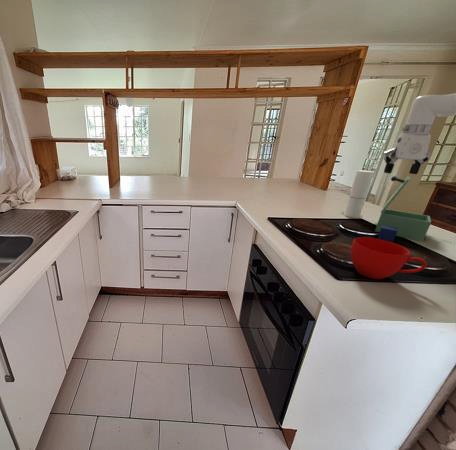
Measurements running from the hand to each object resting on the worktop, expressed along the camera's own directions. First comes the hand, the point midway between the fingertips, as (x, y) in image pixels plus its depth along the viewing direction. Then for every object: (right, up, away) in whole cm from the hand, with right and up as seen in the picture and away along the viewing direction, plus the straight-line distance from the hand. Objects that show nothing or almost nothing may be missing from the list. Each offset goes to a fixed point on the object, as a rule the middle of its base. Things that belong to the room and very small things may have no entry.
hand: (400, 173), depth 100 cm
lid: (+6, -8, +7) cm, 12 cm away
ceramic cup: (-34, -39, -26) cm, 57 cm away
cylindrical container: (+7, -17, +33) cm, 38 cm away
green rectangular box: (+9, -26, +10) cm, 29 cm away
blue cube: (-3, -28, +3) cm, 28 cm away
